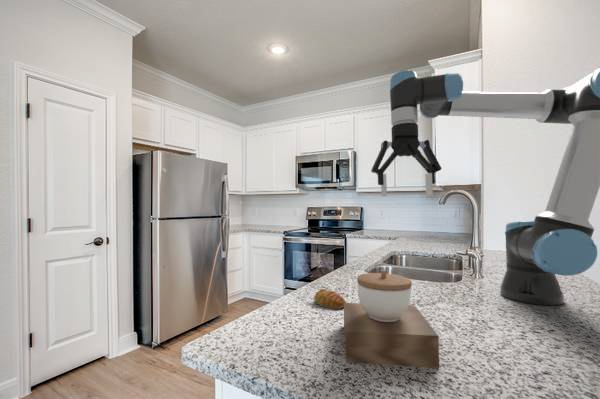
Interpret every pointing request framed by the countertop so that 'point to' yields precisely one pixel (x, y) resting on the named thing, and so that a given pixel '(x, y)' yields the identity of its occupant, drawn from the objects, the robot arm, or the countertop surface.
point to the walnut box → (390, 339)
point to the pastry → (329, 299)
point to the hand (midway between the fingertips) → (406, 195)
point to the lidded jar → (384, 295)
